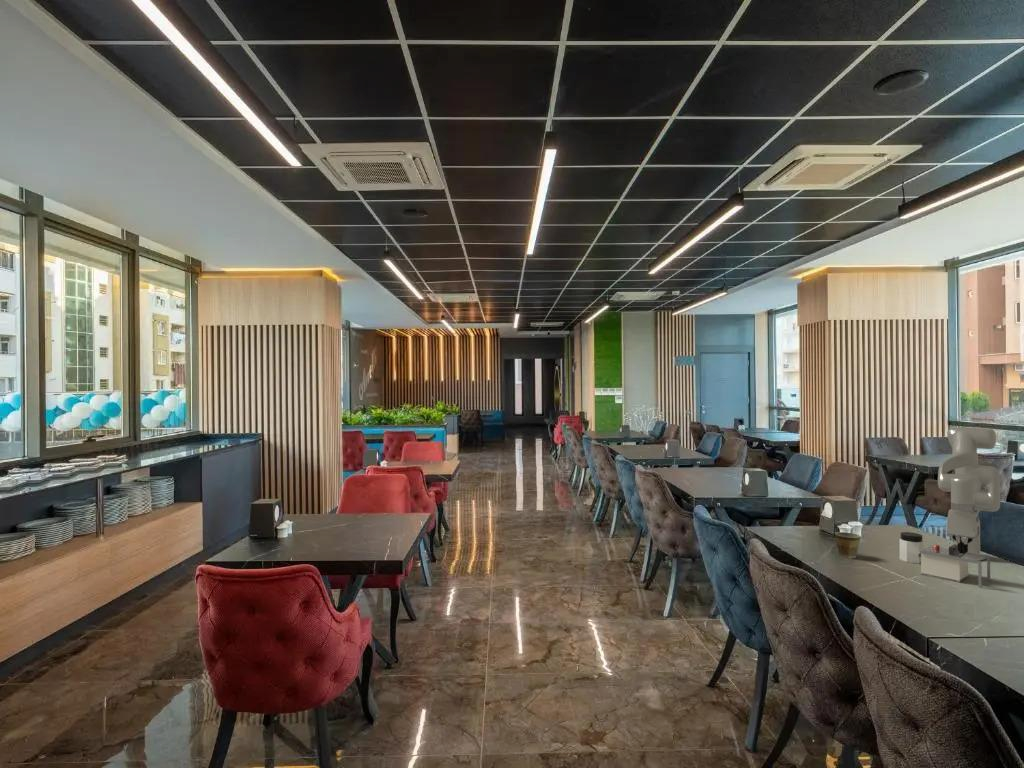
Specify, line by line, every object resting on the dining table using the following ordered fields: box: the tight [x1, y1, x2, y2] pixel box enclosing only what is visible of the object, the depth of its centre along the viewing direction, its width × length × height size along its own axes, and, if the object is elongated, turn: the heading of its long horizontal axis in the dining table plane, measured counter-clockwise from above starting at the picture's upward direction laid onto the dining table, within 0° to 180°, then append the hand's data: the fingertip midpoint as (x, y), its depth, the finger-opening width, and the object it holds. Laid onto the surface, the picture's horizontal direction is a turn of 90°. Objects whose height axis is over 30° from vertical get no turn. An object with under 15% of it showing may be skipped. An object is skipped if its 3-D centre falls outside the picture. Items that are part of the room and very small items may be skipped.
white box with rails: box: [918, 546, 991, 589], centre depth 239 cm, size 14×22×10 cm, turn 39°
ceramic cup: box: [834, 531, 861, 559], centre depth 271 cm, size 13×10×10 cm
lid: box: [922, 543, 969, 558], centre depth 241 cm, size 11×13×4 cm
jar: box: [899, 531, 924, 565], centre depth 263 cm, size 9×8×12 cm
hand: (962, 553), depth 237 cm, fingers closed
